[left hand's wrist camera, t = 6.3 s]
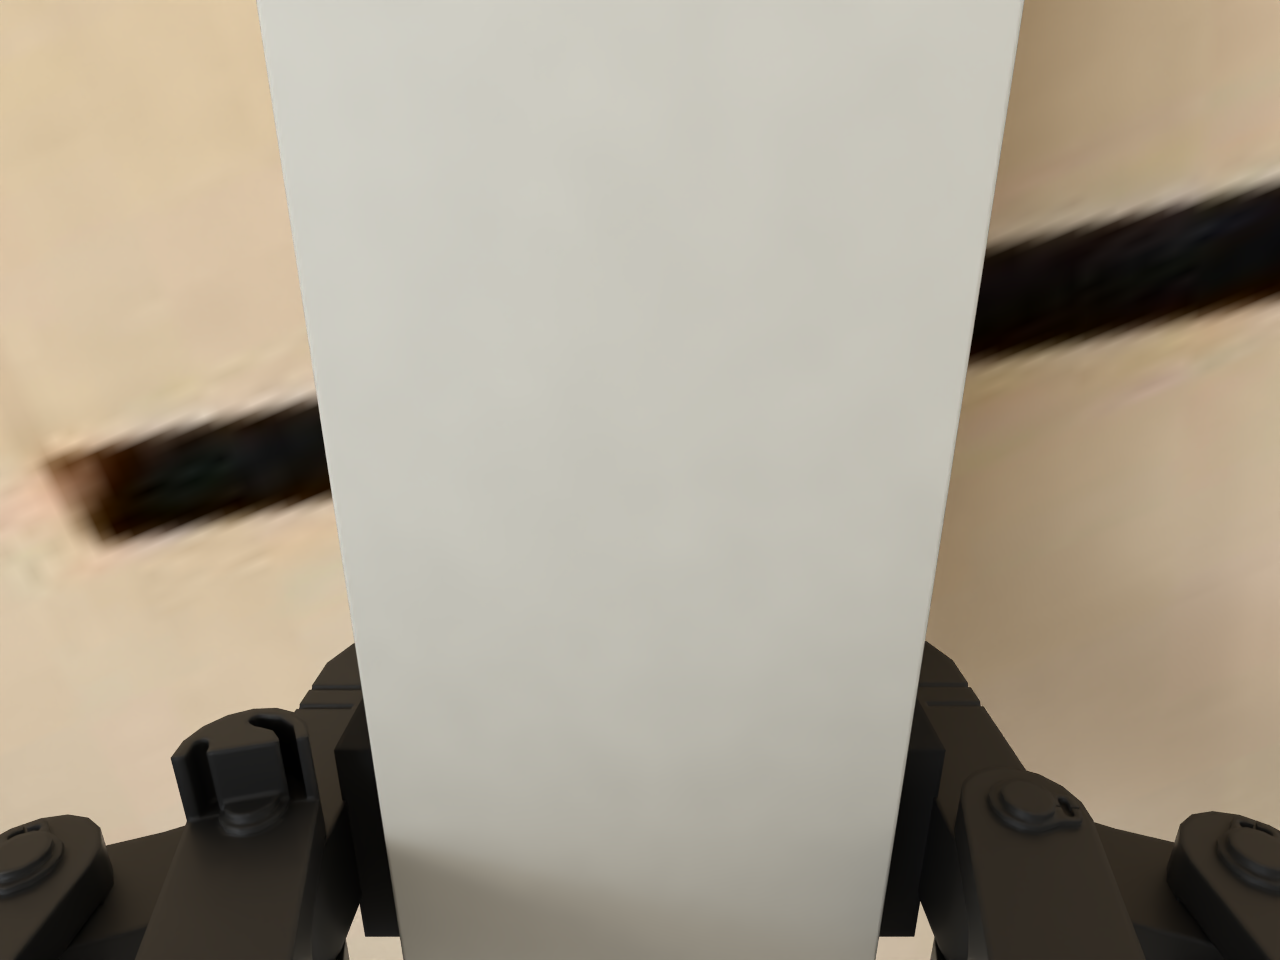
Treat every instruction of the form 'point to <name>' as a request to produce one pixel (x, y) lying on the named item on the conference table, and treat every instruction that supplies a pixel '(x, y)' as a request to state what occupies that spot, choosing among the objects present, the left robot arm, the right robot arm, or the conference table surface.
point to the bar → (639, 441)
